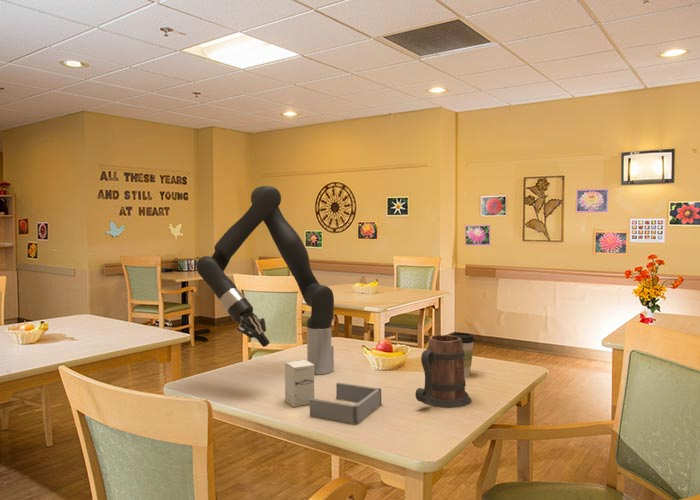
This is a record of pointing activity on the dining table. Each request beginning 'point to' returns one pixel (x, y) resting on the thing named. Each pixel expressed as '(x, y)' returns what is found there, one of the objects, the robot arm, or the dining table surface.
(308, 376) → the supplement box
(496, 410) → the dining table surface
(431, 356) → the tankard
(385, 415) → the dining table surface
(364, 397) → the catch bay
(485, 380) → the dining table surface
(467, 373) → the coffee cup
